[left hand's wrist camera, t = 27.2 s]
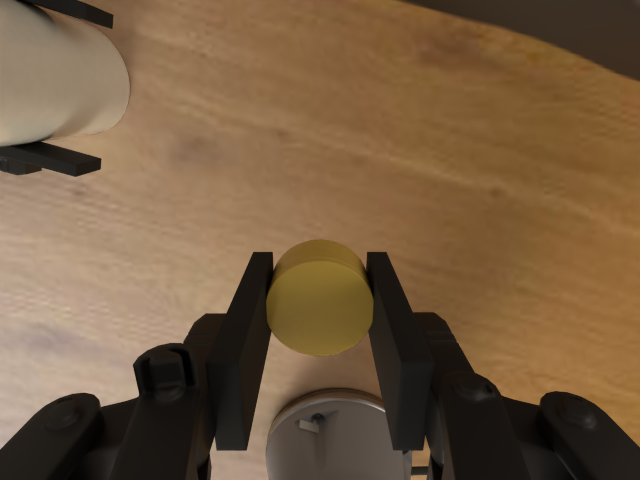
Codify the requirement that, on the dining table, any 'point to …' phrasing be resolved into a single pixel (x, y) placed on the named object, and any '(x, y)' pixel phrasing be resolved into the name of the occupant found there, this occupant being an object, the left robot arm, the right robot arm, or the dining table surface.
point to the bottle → (56, 76)
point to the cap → (319, 299)
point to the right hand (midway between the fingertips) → (93, 96)
